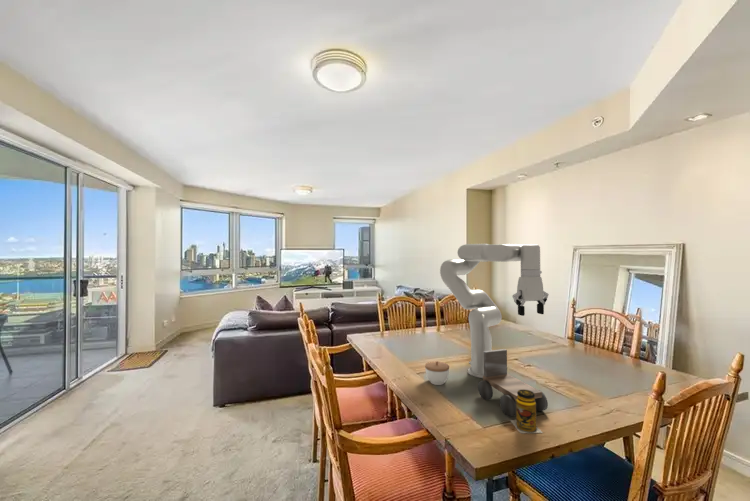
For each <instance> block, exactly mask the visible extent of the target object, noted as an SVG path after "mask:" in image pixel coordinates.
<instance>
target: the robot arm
mask: <svg viewBox="0 0 750 501" xmlns="http://www.w3.org/2000/svg"><path fill="white" fill-rule="evenodd" d="M457 256H458V258H453V259H447V260H444V261H443V262H442V263H441V265H440V269H439V274H440V277H441V280H442V282H443V283H444V284H445V286H446V287H447V288H448V289H449V291H450V292H451V293H452V294H453V296H454V298H455V299H456V301H457V302H458V303H459V304H460V306H461V307H462V308H463V309H465V310H469V311H470V310H471V311H470V312H469V314H468V323H469V324H468V325H469V329H470V330H469V331H470V361H468V364H469V365H470V367H469V368H468V369H467V373H468V374H469V376H471V377H475V378H478V379H483V376H484V351H491V350H493V349H492V347H493V346H492V342H493V341H492V334H491V331H490V328H489V327H492V326H493V327H494V326H497V325H499V324H500V323H501V321H502V319H503V317H502V312H501V310H500V308H498V306H497V304H496V303H495V302H494V301H493V299H492V298H491V297H490V296H489V295H488V293H487V292H485V290H482V289H471V288H470V287H469V286H468V284H467V283H466V281H464V280H463V279H462V278H461V277H459V276H464V275H467V274H470V273H471V272H472V271H473V270H474V269H475V268H476V267H477V266H478V265H479V263H480V262H483V263H484V262H487V263H488V262H503V263H504V262H506V263H507V262H520V276H519V277H518V280H517V286H516V292H515V293H513V294H512V295H511V296H512V300H513V301H514V303H515V304H516V306H517V315H519V316H523V317H524V316H525V315H526V314H525V312H526V311H525V309H526V308H525V306H524V305H525V303H526V302H536V313H537V314H540V315H545V314H544V313H545V311H544V310H545V305H546V302H547V301H548V297H549V293H548V292H546V291H544V283H543V280H542V279H543V278H542V276H541V274H542V273H543V272H542V270H541V247H540V245H539V244H535V243H534V244H532V243H530V244H526V243H525V244H517V243H514V244H513V243H511V244H510V243H506V244H505V243H504V244H503V243H502V244H501V243H500V244H498V243H497V244H495V243H494V244H489V243H465V244H462V245H460V246H459V248H458V250H457Z"/></svg>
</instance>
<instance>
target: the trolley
mask: <svg viewBox="0 0 750 501" xmlns="http://www.w3.org/2000/svg"><path fill="white" fill-rule="evenodd" d="M493 388H494V389H496V391H497V390H498V392H500V393H501V394H504V395H501V396H500V398H499V405H500V409H501V411H502V413H503V414H504V415H505V416H507V417H508V418H511V417H514V416H515V417H516V416H517V415H516V400H517V398H518V397H517V395H518V394H517V392H518V391H519V390H529V391H532V392H533V393H534V395H535V402H536V412H543V411H546V410H547V409H548V404H549V403H548V398H547V397H546V395H545V393H544V392H543V391H542V390H540V389H537V388H536V387H533V386H532V385H529V384H528V383H525V382H524V381H522V380H520V379H519V378H516V377H515V376H513V375H511V374H509V373H508V350H507V349H506V348H503V349H502V348H500V349H492V350H491V351H484V376H483V378H482V380H481V381H478V385H477V390H478V393H479V396H480V397H481V399H482V400H484V401H486V400H491V399H492V398H493V395H494V393H493V392H494V390H493Z"/></svg>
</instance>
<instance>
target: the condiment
mask: <svg viewBox="0 0 750 501" xmlns="http://www.w3.org/2000/svg"><path fill="white" fill-rule="evenodd" d="M517 394H518V395H517V397H518V398H517V400H516V415H515V418H516V419H514V420H513V419H509V422H510V423H511V424H512V425H513V426H514V427H515V429H516V430H517V431H518V432H519V434H544V432H543V431H542V430H541V429H540V428H539V427H538V426H537V411H536V402H535V395H534V393H533V392H532V391H529V390H519V391H518V392H517Z"/></svg>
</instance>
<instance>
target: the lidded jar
mask: <svg viewBox="0 0 750 501" xmlns="http://www.w3.org/2000/svg"><path fill="white" fill-rule="evenodd" d="M424 367H425V376H426V378H427V380H428V381H429V382H430V383H431V384H432V385H435V386H442V385H444V384H445V382H446V381H447V380H448V379H449V375H450V364H448V363H446V362H444V361H437V360H436V361H435V360H433V361H429V362H427V363H425V365H424Z"/></svg>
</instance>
